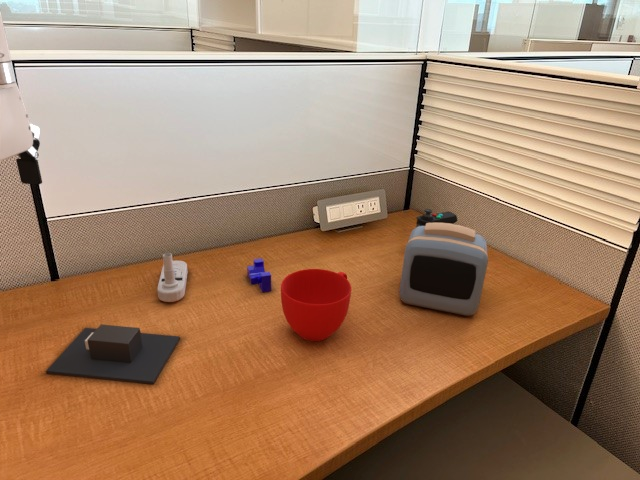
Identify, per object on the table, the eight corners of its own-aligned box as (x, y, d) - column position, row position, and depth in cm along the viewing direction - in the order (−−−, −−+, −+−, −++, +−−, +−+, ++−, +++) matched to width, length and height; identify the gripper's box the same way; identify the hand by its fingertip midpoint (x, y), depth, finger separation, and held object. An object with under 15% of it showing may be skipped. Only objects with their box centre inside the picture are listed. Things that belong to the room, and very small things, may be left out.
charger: (84, 358, 81) (80, 339, 79) (97, 342, 85) (94, 323, 83) (131, 363, 80) (128, 343, 79) (142, 346, 84) (139, 327, 83)
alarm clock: (396, 305, 101) (405, 237, 94) (407, 270, 115) (415, 209, 108) (476, 321, 97) (492, 251, 90) (477, 283, 111) (490, 220, 104)
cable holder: (247, 275, 110) (246, 260, 108) (262, 273, 111) (262, 258, 109) (255, 293, 103) (255, 277, 101) (271, 291, 104) (271, 275, 102)
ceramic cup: (370, 317, 96) (374, 274, 92) (323, 361, 84) (326, 313, 79) (317, 296, 103) (319, 255, 99) (266, 334, 90) (265, 288, 86)
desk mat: (46, 373, 78) (45, 370, 78) (85, 330, 89) (85, 327, 89) (153, 384, 77) (153, 381, 77) (180, 339, 88) (179, 336, 87)
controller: (410, 243, 129) (415, 208, 125) (445, 235, 135) (450, 202, 130) (420, 249, 126) (425, 214, 122) (455, 242, 131) (462, 208, 127)
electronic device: (185, 231, 108) (179, 260, 94) (188, 269, 112) (184, 302, 98) (160, 232, 107) (151, 261, 93) (164, 271, 111) (157, 304, 97)
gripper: (0, 67, 73) (25, 175, 81) (-100, 81, 58) (-58, 213, 65) (47, 70, 73) (67, 178, 80) (-41, 85, 57) (-5, 217, 65)
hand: (11, 193), depth 73 cm, fingers open, 9 cm apart
